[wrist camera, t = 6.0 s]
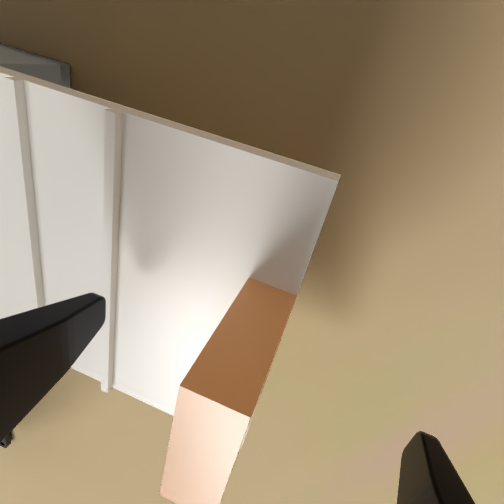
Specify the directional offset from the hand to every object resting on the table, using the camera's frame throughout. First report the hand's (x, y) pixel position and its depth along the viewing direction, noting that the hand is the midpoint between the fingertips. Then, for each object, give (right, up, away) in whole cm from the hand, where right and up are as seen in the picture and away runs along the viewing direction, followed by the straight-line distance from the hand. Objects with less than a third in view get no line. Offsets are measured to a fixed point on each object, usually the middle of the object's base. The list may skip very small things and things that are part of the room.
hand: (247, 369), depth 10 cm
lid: (-6, +3, +3) cm, 7 cm away
